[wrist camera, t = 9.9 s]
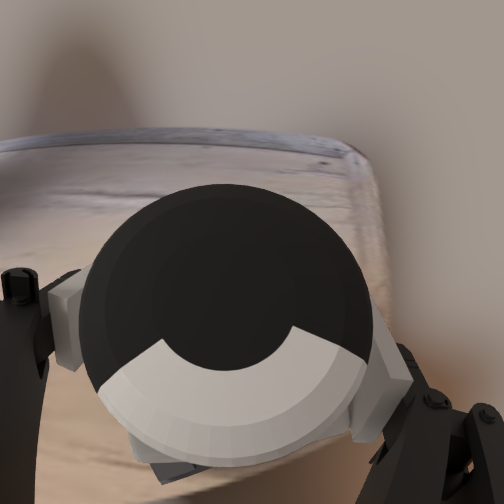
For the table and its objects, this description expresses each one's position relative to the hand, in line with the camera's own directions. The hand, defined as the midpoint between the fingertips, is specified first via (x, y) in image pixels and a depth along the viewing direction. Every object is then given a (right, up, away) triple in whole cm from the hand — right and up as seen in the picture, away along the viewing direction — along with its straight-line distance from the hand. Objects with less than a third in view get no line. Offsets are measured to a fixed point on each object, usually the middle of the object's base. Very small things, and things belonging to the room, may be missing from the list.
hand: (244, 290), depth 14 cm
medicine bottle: (-1, -5, +2) cm, 5 cm away
